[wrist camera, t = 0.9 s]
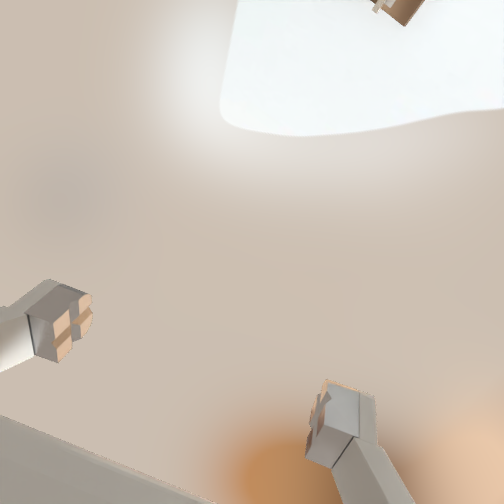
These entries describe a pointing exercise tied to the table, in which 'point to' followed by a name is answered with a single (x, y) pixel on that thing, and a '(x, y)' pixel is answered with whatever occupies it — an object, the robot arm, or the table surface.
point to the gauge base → (401, 9)
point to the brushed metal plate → (378, 6)
